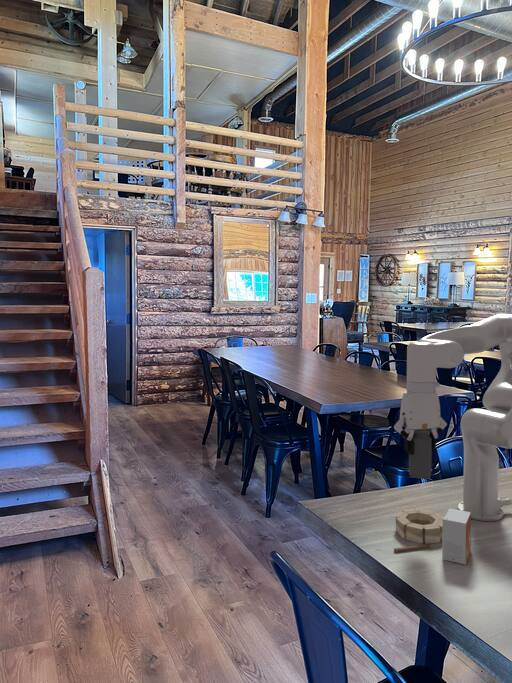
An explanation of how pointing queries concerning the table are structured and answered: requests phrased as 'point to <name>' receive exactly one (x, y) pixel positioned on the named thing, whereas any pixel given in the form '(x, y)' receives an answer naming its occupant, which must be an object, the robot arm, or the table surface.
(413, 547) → the brown wooden stick
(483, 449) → the robot arm
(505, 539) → the table surface
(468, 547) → the small box
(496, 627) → the table surface
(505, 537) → the table surface
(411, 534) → the segmented wooden ring
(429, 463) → the bottle
